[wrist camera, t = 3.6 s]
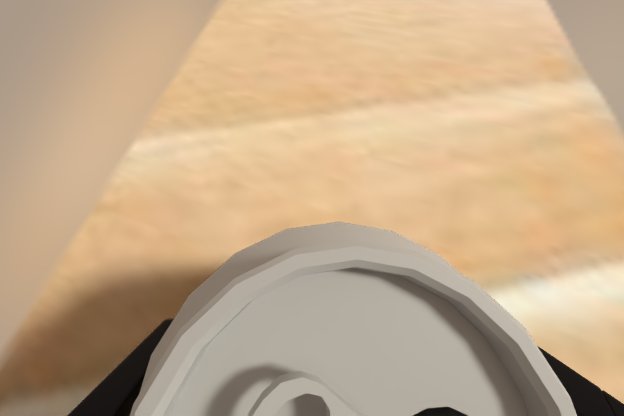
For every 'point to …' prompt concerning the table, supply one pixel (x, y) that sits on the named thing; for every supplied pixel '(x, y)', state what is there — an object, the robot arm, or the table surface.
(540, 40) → the table surface
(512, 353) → the can
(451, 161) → the table surface
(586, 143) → the table surface
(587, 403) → the robot arm
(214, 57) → the table surface
